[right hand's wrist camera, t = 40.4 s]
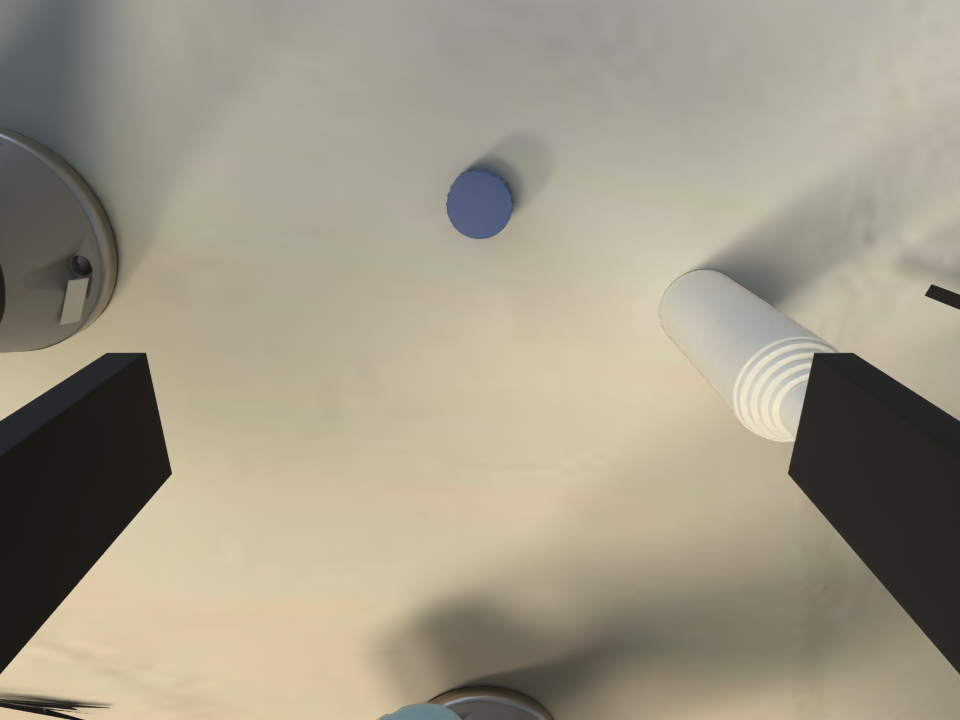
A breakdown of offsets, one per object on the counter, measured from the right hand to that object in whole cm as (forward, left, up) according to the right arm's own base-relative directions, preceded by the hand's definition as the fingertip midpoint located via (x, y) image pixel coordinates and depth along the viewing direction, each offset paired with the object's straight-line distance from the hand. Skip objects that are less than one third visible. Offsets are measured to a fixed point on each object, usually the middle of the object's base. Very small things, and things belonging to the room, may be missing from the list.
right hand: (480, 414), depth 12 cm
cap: (0, 0, -30) cm, 30 cm away
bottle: (+9, -16, -32) cm, 37 cm away
